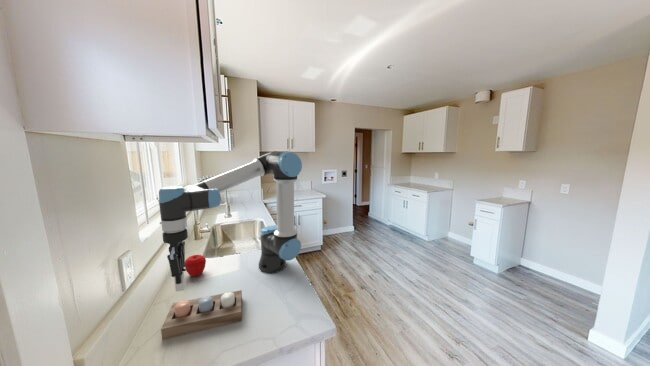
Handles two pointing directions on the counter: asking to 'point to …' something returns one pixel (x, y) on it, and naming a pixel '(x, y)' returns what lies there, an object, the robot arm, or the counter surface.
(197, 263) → the apple
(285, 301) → the counter surface
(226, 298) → the button cream
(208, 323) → the console
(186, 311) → the button terracotta
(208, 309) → the button slate
